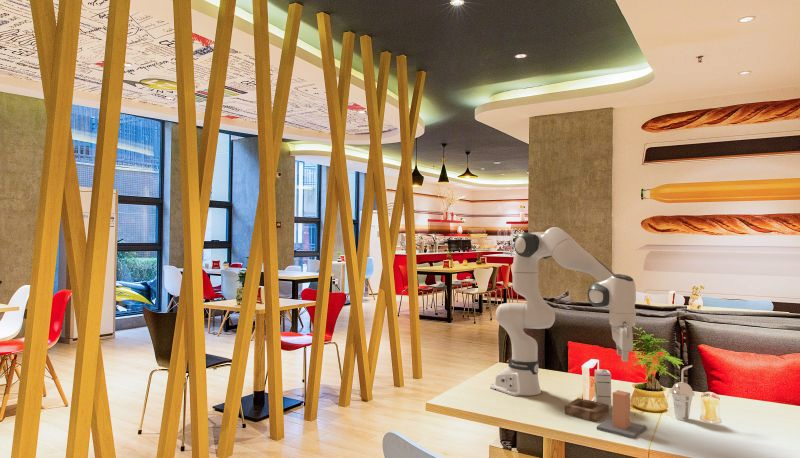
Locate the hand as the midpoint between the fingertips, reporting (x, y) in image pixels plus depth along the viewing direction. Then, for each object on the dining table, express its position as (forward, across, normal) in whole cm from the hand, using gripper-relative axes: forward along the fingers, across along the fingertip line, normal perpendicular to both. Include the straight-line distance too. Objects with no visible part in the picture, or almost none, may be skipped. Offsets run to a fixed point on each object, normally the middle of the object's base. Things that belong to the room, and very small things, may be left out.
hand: (622, 358), depth 199 cm
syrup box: (+26, +24, +3) cm, 36 cm away
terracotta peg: (+24, 0, 0) cm, 25 cm away
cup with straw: (+26, +16, -25) cm, 39 cm away
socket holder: (+26, +14, +10) cm, 31 cm away
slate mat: (+26, 0, 0) cm, 26 cm away
